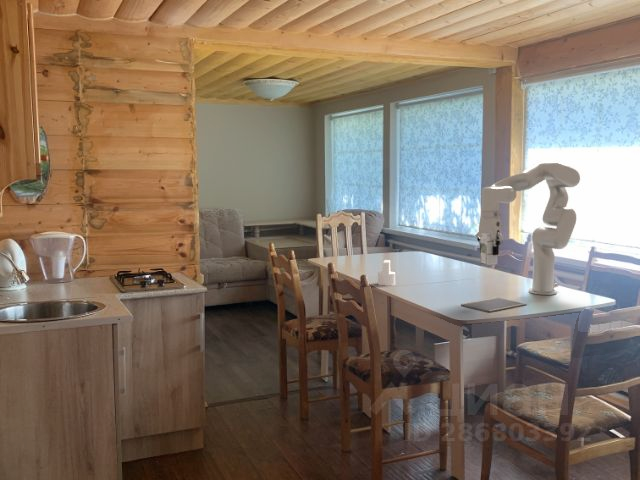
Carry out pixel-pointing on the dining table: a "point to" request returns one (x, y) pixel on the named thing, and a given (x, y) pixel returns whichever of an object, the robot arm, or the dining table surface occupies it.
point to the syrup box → (487, 250)
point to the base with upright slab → (386, 275)
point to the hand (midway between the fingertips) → (489, 253)
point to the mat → (493, 304)
